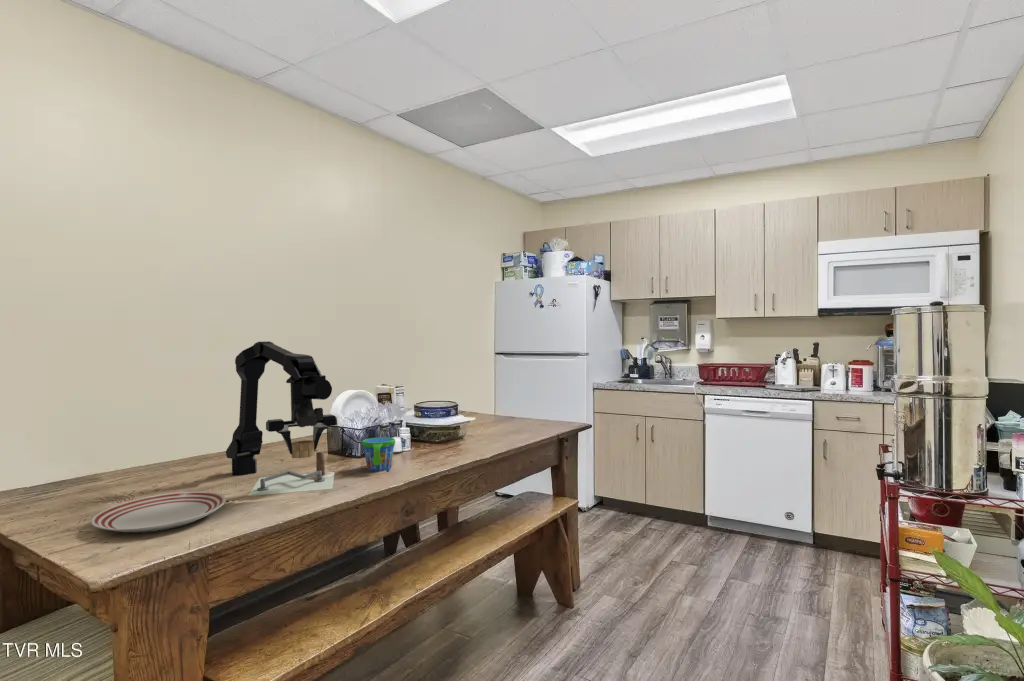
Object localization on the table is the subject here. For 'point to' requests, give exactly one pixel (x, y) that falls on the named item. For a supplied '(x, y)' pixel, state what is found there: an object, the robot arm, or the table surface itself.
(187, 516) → the dinner plate
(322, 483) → the wire course
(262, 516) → the table surface
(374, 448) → the snack cup
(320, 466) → the peg stand
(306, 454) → the ring
